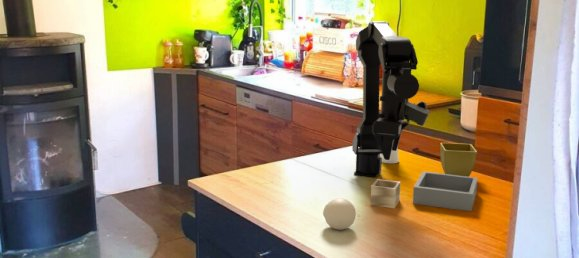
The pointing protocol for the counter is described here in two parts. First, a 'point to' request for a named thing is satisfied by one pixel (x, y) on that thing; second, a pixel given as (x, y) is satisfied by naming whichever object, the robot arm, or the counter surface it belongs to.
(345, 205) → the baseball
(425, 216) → the counter surface
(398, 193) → the small crate
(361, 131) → the robot arm
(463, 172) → the flower pot
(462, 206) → the big crate
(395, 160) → the cosmetic bottle
